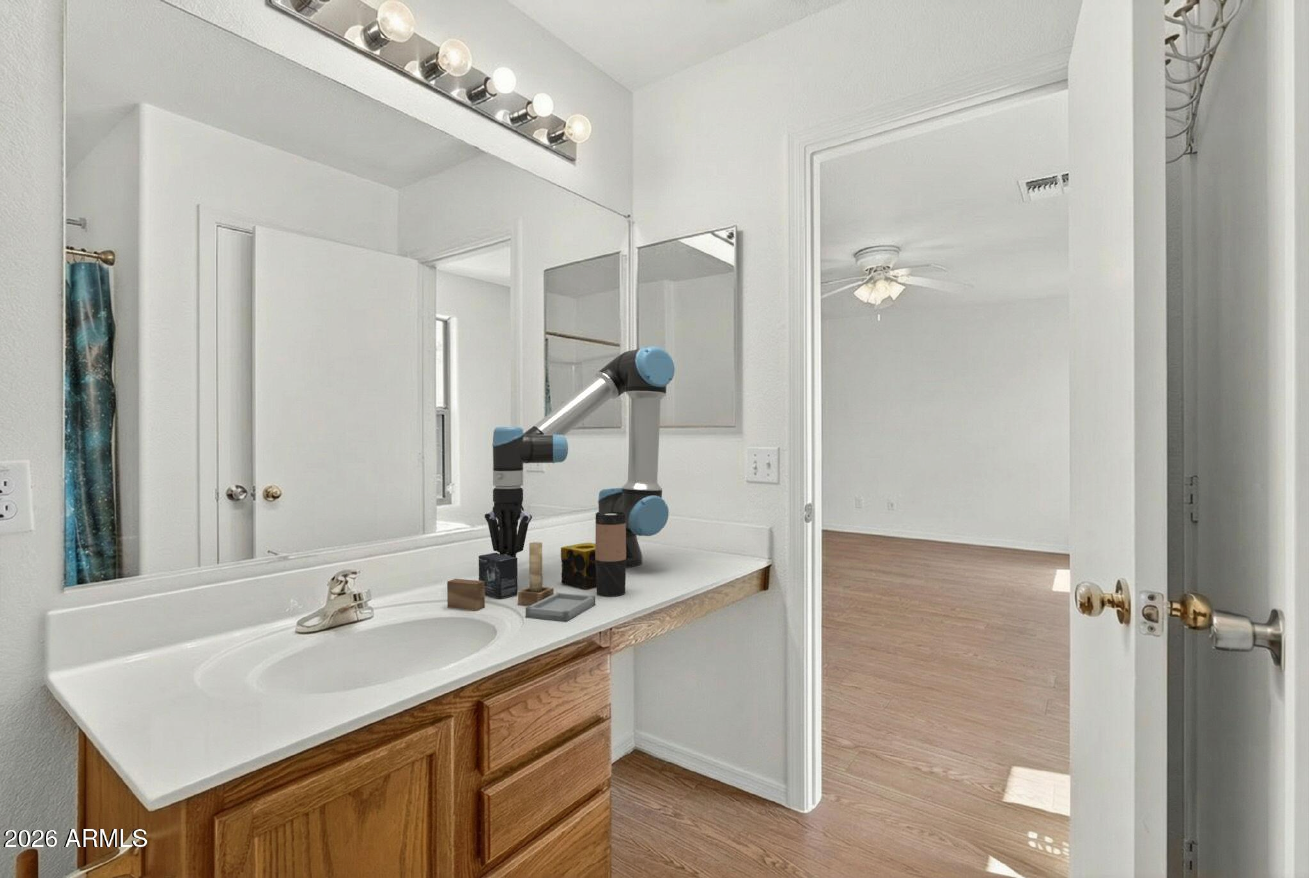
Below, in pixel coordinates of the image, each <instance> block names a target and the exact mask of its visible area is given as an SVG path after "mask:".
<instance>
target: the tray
mask: <svg viewBox="0 0 1309 878" xmlns="http://www.w3.org/2000/svg"><path fill="white" fill-rule="evenodd" d="M594 606H596V596H595V595H587V594H576V593H567V592H555V593H554V594H553V595H551V596H549V597H547V598H545V599H543V600H541V601H539V602H537V603H535V604H533V605H530V606H526V607H525V618H528V619H529V618H532V619H540V620H549V621H557V622H565V623H566V622H569V621H570V620H571V619H574V618H575V617H577V616H579V615H580V614H583V612H586V611H588V610H589V609H591V608H592V607H594Z"/></svg>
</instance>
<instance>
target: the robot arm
mask: <svg viewBox="0 0 1309 878" xmlns="http://www.w3.org/2000/svg"><path fill="white" fill-rule="evenodd" d="M675 368H676V367H675V362H674V359H673V358H672V357H671V355H670V354H669V352H668V351H666V350H665V349H663V348H662V347H659V346H655V345H653V346H643V347H641V348H637V349H632V350H627V351H624V352H622V353H621V354H619V355H617V356H616V357H615V358H614V359H612V360H610V361H609V362H608V363H607V364H606V365H605V366H604V367H603V368H601V369H600V370H599V371H597V372H596V373H595V375H594V379H592V380H591V381H589V382H588V383H587V384H586V385H585V386H584V387H582V388H581V389H579V390H578V391H577V392H576V393H574V394H573V395H572V396H570V397H569V398H568V399H566V400H565V401H564V402H562V403H561V404H560V405H559V406H558V407H556V408H555V409H553V410H552V411H551V412H550V413H548V414H547V415H546V416H545V417H543V418H542V419H540V421H538V422H536V423H535V424H534V425H533V426H532V427H530V428H529V429H528V430H526V431H525V432H524V429H523V428H522V427H521V426H498V427H495V428H494V429H493V435H492V486H493V487H494V488H493V489H492V502H493V507H492V510H491V511H490V512H489V513H485V514H484V519H485V520H486V523H487V526H488V530H489V535H490V539H491V540H490V541H491V545H492V546H491V547H492V550H493V551H494V552H496V553H498V554H502V555H507V556H511V557H517V554H518V553H520V552H521V553H522V552H523V551H524V548H525V543H526V538H527V532H528V528H529V524H530V523H531V520H532V519H533V516H532V514H528V513H526V512H525V509H524V507H523V502H524V489H523V487H522V486H523V485H524V464H549V463H550V464H555V463H563V462H565V461H566V460H567V458H568V454H569V443H568V440H567V438H566V437H565V435H566V434H568V433H569V432H570V431H571V430H573V429H574V428H575V427H576V426H578V425H579V424H580V423H582V421H584V420H586V419H587V418H588V417H589V416H590V415H592V414H593V413H595V411H596V410H598V409H599V408H600V407H602V406H603V405H604V404H606V403H607V402H608V401H610V400H611V399H612V400H615V399H617V398H619V396H621V395H622V394H624V393H626V395H627V396H628V397H629V399H630V417H629V419H630V420H629V446H628V467H627V480H626V483H625V484H624V485H623V486H622V487H616V488H615V487H614V488H604V489H601V490H600V491H599V493H598V501H597V503H598V512H600V514H606V513H607V512H609V511H619V512H625V514H626V568H631V567H636V566H640V565H642V564H643V553H642V549H641V547H640V544H639V541H638V538H637V536H639V537H651V536H655V535H657V534H658V533H660V532H661V531H662V530H663V529H664V528H665V527H666V525H667V522H668V520H669V515H670V514H669V513H670V512H669V511H670V510H669V507H668V504H667V503H666V501H665V500H664V499H663V488H662V487H661V485H660V484H659V483H658V474H659V451H660V449H659V447H660V424H661V403H662V402H661V401H662V399H664V397H666V396H667V385H669V384H670V383H671V381H672V380H673V379H674V376H675V370H676V369H675ZM519 521H520V522H519Z"/></svg>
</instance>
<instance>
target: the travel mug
mask: <svg viewBox="0 0 1309 878" xmlns="http://www.w3.org/2000/svg"><path fill="white" fill-rule="evenodd" d="M595 559H596V560H595V562H596V594H597V595H598V596H600V597H606V598H608V597H610V598H611V597H620V596H623V595H625V594H626V580H627V579H626V576H627V575H626V574H627V573H626V572H627V567H626V514H625V512H619V511H609V512H607V513H606V514H600V512H599V511H598V512H595Z"/></svg>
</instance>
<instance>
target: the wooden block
mask: <svg viewBox="0 0 1309 878" xmlns="http://www.w3.org/2000/svg"><path fill="white" fill-rule="evenodd" d="M446 585H447V586H446V589H447V590H446V591H447V592H446V593H447V594H446V595H447V597H446V598H447V599H446V601H447V608H448V609H458V610H467V611H473V612H475V611H476V612H478V611H480V610H482V609H484V608H485V607H486V605H485V604H486V603H485V602H486V601H485V600H486V599H485V598H486V597H485V596H486V594H485V581H479V580H475V579H474V580H473V579H466V578H465V579H464V578H454V579H453V578H452V579H450V580H447V581H446Z"/></svg>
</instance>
